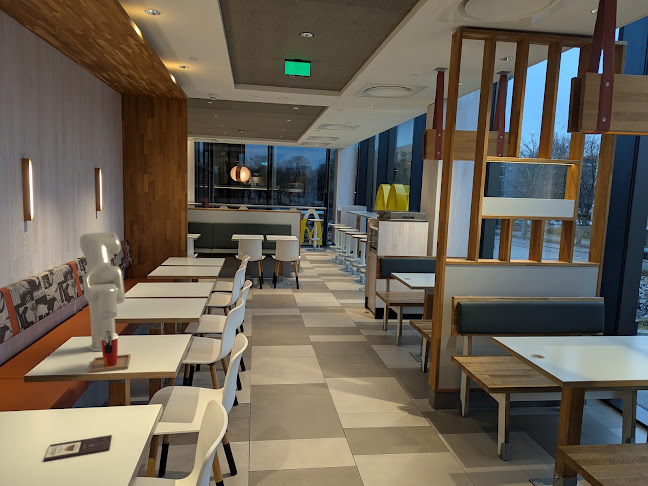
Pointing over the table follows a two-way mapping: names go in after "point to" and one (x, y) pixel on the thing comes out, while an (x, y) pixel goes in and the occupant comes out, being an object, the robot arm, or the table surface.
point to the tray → (99, 366)
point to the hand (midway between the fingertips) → (110, 349)
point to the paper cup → (110, 358)
